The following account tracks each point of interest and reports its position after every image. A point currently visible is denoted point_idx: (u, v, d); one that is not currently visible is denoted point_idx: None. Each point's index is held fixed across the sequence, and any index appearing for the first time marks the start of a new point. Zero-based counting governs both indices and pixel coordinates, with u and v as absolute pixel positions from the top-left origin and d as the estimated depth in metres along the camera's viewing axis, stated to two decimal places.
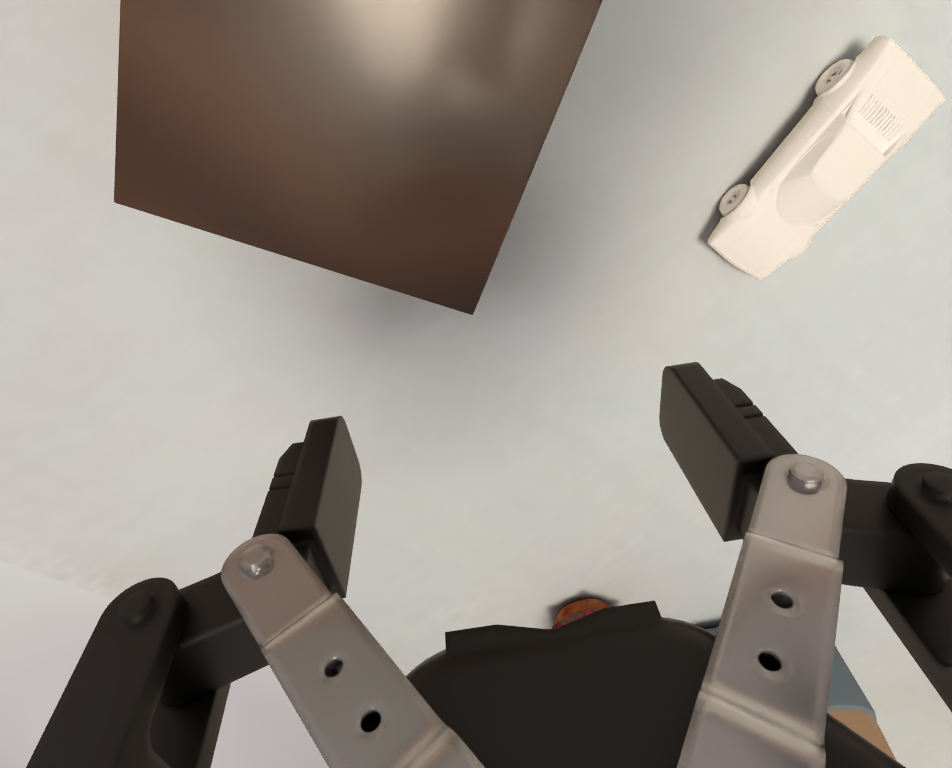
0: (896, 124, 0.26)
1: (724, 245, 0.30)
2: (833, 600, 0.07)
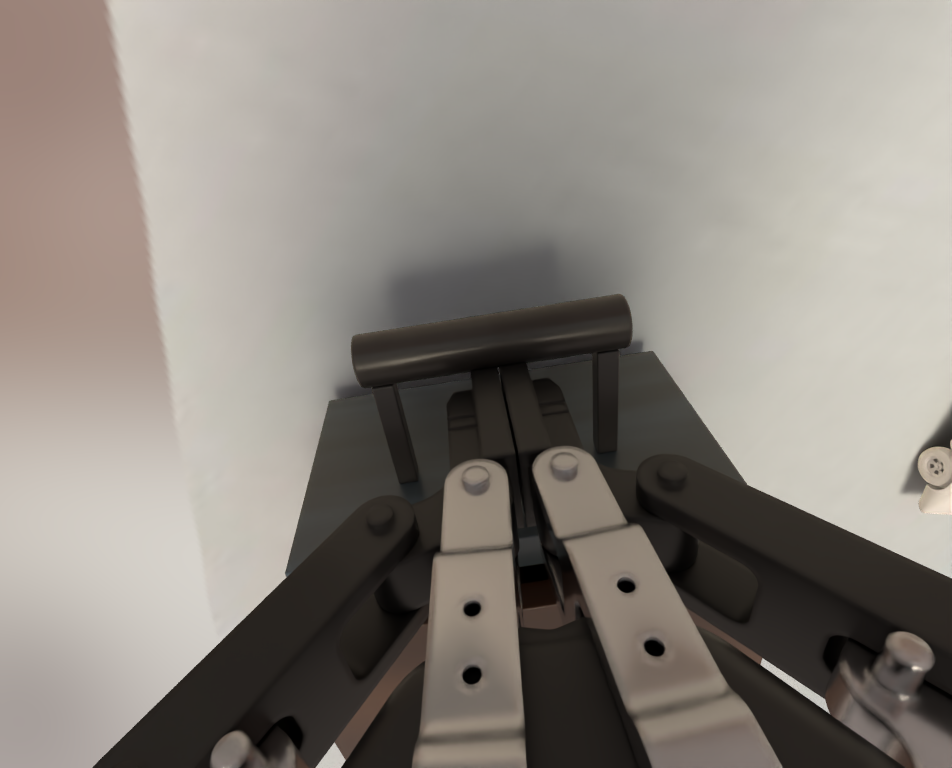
0: None
1: (944, 510, 0.26)
2: (655, 560, 0.08)
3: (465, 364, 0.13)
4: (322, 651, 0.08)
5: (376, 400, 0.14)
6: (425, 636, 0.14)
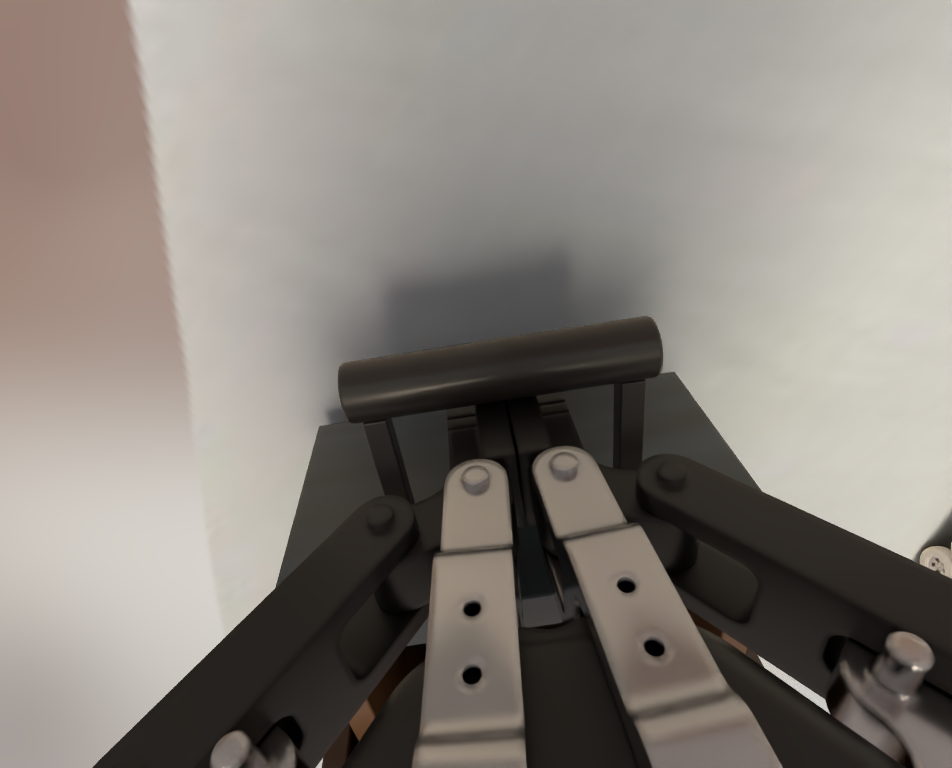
0: None
1: None
2: (654, 560, 0.08)
3: (470, 397, 0.12)
4: (322, 651, 0.08)
5: (367, 437, 0.12)
6: None
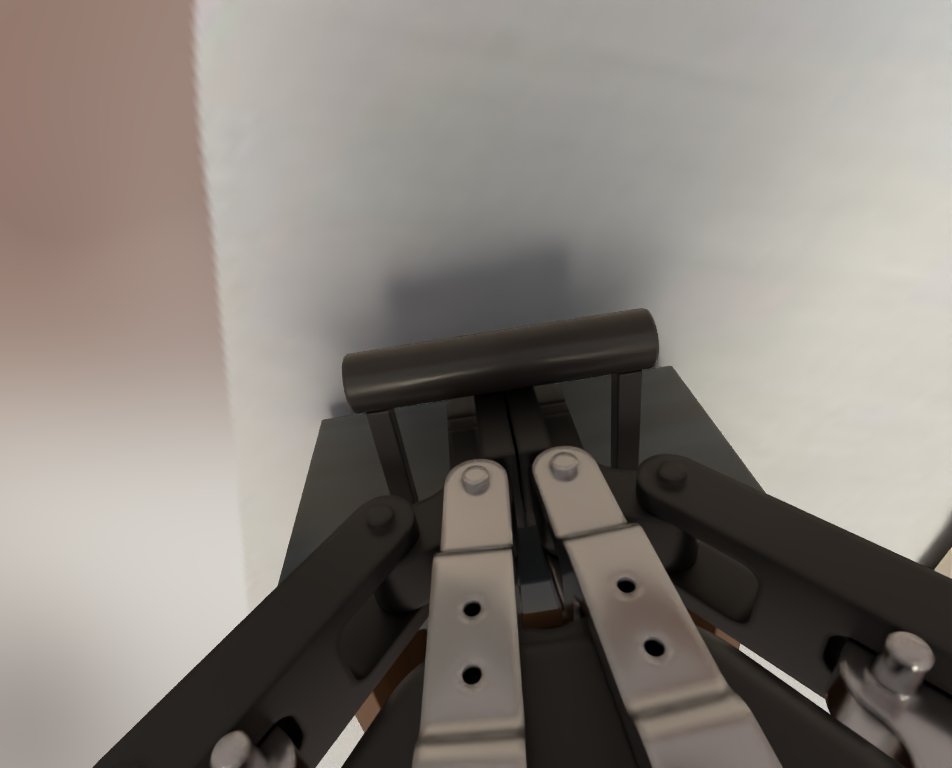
0: None
1: None
2: (654, 560, 0.08)
3: (470, 387, 0.12)
4: (322, 651, 0.08)
5: (370, 426, 0.13)
6: None
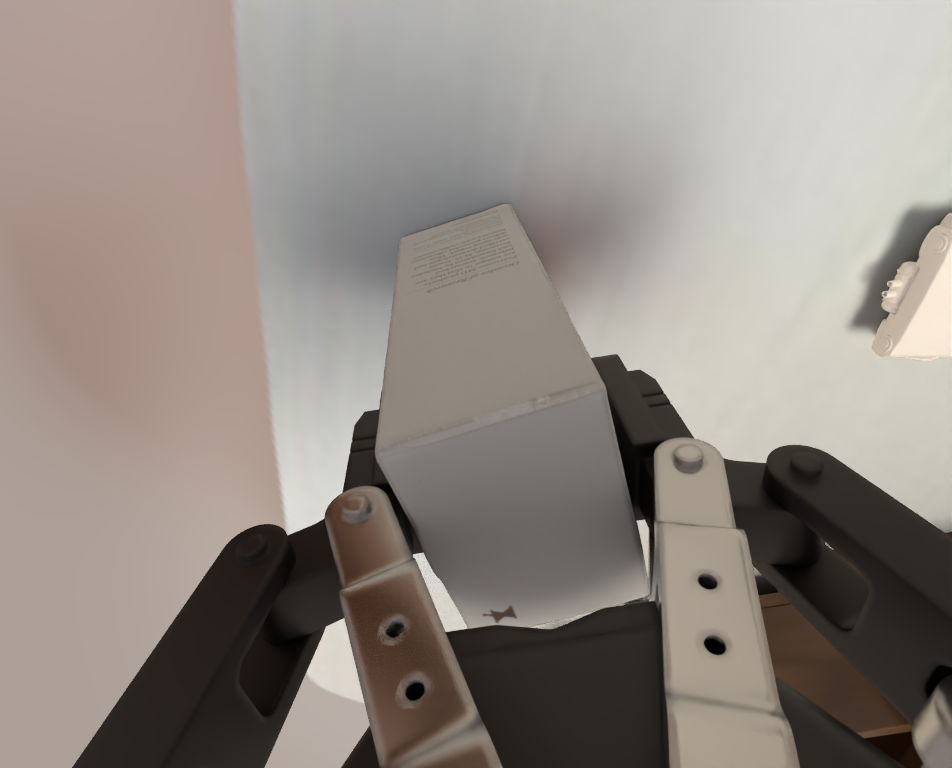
0: None
1: None
2: (748, 569, 0.07)
3: None
4: (223, 695, 0.08)
5: None
6: None
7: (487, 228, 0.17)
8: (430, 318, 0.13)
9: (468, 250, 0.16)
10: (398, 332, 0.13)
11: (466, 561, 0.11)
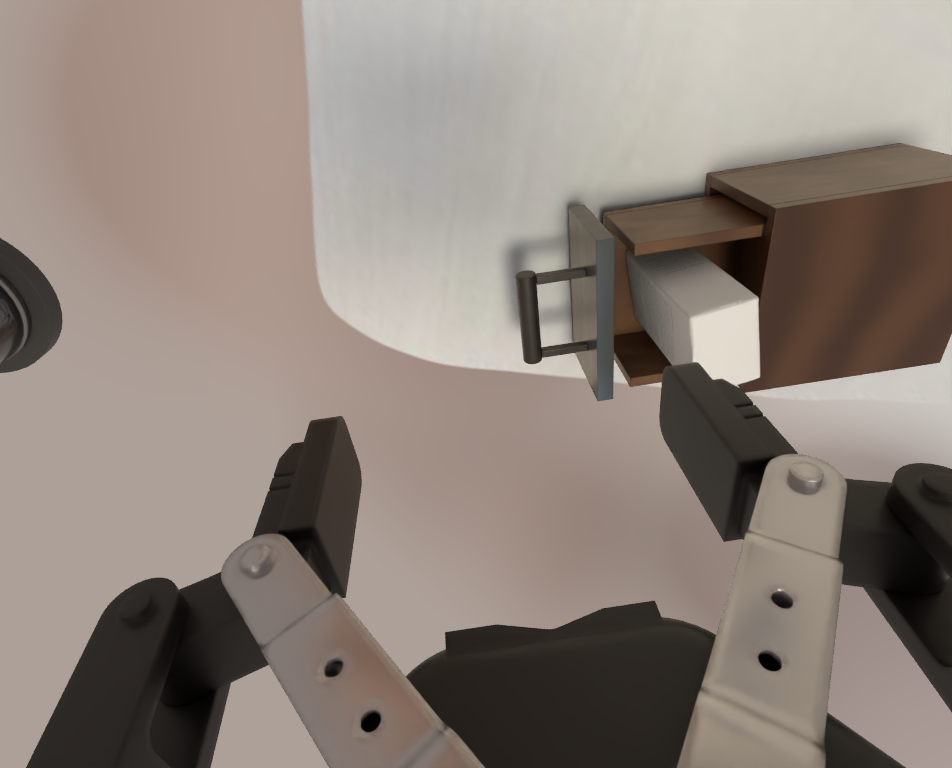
0: None
1: None
2: (833, 600, 0.07)
3: (533, 331, 0.39)
4: (136, 763, 0.07)
5: (547, 356, 0.41)
6: None
7: None
8: (677, 282, 0.35)
9: (673, 257, 0.38)
10: (666, 287, 0.35)
11: (704, 359, 0.33)
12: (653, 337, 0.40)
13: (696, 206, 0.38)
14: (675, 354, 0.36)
